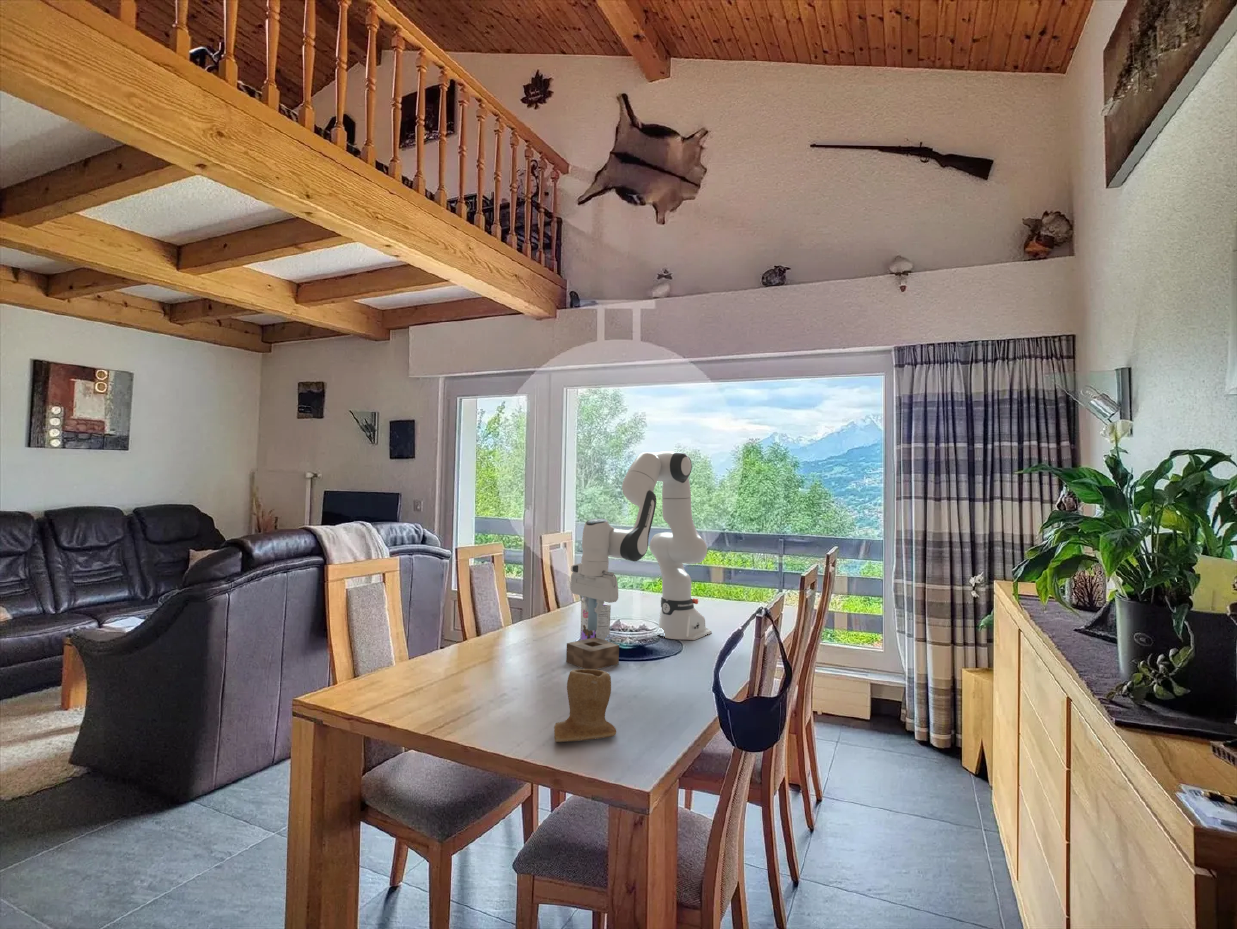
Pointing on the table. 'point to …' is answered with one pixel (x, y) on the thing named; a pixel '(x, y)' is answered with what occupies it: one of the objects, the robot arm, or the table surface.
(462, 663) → the table surface
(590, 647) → the socket block
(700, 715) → the table surface
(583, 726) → the tan suede boot
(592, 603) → the peg
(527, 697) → the table surface
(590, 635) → the candy box
